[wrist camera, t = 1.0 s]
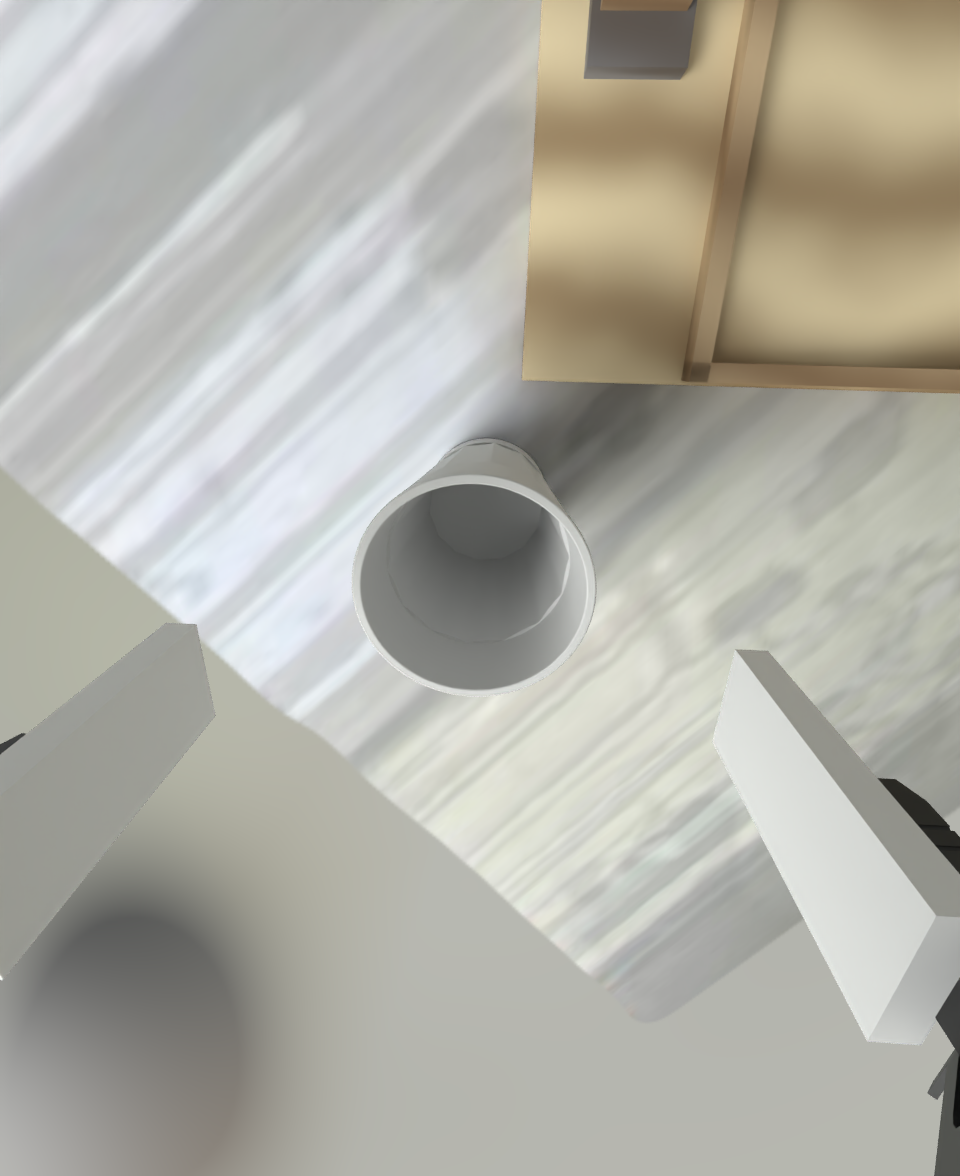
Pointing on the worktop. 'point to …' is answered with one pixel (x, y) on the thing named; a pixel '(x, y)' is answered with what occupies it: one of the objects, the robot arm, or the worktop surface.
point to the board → (747, 195)
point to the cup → (475, 575)
